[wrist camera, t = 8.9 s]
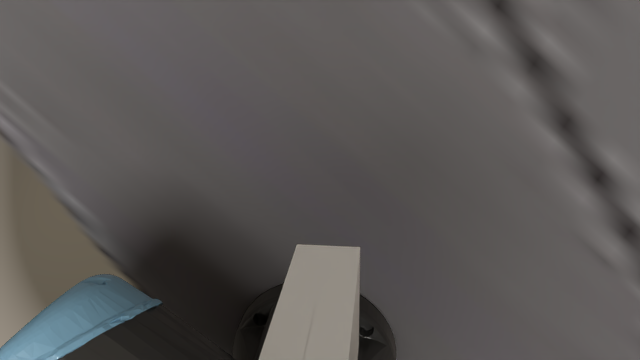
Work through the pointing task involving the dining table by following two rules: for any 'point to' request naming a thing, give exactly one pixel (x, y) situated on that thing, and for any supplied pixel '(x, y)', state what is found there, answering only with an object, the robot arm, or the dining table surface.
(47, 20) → the dining table surface
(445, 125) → the dining table surface
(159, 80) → the dining table surface
